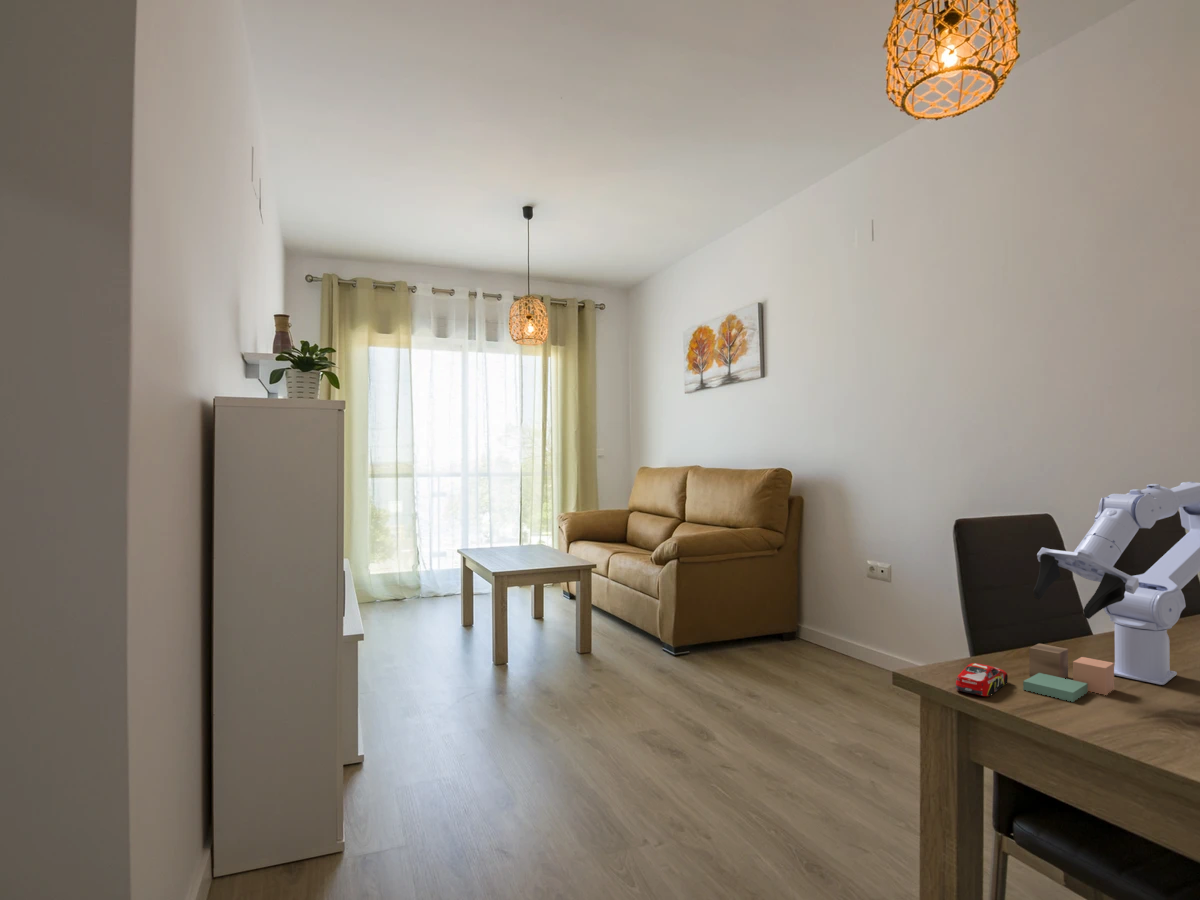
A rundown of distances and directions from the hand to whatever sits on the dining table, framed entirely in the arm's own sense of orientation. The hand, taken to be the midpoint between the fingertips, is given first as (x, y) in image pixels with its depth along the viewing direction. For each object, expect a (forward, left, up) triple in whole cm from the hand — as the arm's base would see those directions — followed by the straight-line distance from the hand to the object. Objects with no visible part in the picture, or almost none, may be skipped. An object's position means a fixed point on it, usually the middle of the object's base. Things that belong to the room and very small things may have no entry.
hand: (1060, 604), depth 113 cm
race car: (+9, -9, -14) cm, 19 cm away
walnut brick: (-6, -4, -14) cm, 16 cm away
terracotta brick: (-5, +3, -14) cm, 15 cm away
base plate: (+2, 0, -14) cm, 14 cm away
